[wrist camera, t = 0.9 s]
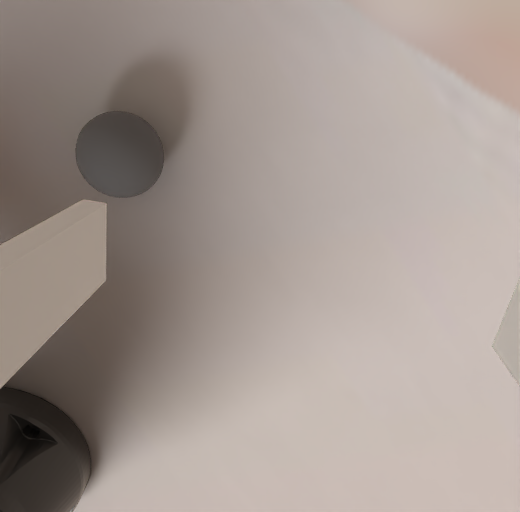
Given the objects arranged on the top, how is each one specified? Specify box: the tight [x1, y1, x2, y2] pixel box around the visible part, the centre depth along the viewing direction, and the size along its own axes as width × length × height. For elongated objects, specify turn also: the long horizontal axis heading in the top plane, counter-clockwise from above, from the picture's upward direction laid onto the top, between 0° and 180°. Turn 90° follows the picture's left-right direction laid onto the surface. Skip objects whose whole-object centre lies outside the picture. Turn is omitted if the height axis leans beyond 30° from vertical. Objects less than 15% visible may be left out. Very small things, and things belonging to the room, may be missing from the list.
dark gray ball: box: [76, 111, 164, 198], centre depth 29 cm, size 6×6×6 cm
